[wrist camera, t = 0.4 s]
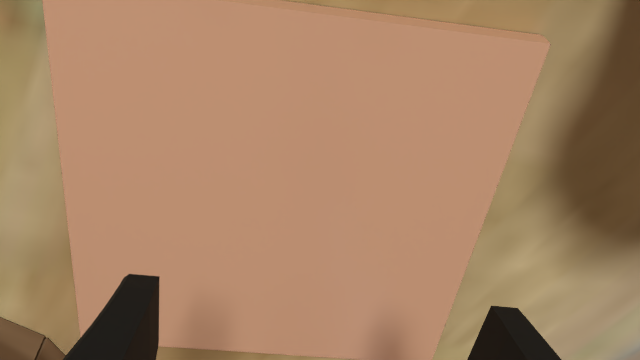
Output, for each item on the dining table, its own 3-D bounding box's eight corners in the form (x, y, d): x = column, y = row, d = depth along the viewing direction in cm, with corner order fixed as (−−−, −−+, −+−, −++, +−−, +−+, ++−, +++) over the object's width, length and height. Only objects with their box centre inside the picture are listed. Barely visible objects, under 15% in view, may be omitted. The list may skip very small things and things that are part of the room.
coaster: (427, 350, 29) (430, 364, 28) (86, 327, 27) (80, 340, 26) (542, 35, 20) (551, 44, 19) (48, -31, 18) (39, -24, 18)
